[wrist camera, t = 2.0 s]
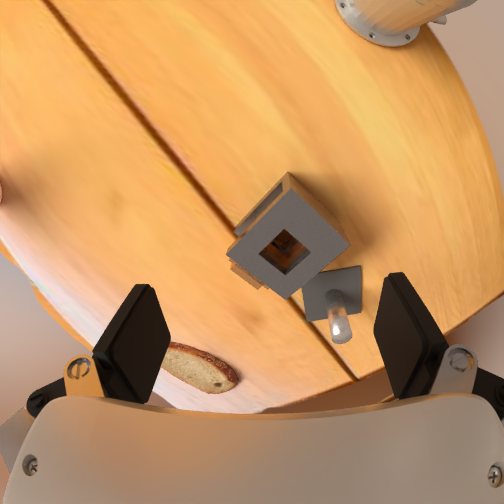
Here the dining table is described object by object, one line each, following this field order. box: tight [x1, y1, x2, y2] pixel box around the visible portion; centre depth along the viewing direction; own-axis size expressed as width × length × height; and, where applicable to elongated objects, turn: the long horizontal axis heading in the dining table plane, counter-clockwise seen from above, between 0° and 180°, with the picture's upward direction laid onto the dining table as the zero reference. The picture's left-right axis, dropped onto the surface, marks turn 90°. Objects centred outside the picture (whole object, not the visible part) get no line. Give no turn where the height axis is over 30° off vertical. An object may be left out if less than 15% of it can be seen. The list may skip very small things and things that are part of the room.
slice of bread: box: [161, 342, 239, 394], centre depth 57 cm, size 18×18×4 cm
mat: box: [302, 265, 361, 322], centre depth 45 cm, size 10×10×1 cm
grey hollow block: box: [226, 172, 350, 300], centre depth 36 cm, size 14×10×8 cm
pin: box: [324, 289, 352, 344], centre depth 40 cm, size 3×3×10 cm
